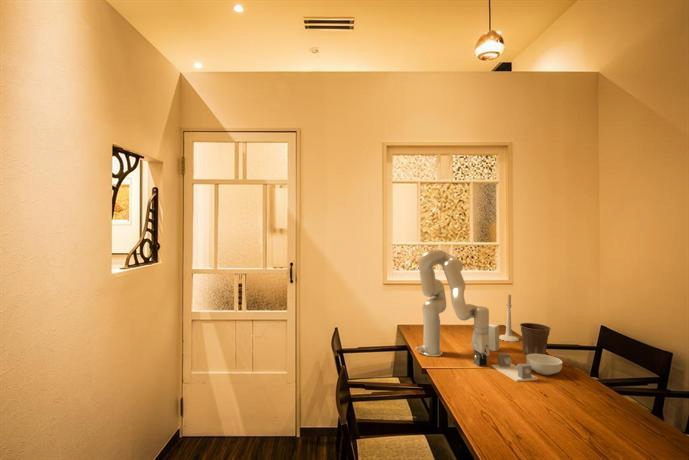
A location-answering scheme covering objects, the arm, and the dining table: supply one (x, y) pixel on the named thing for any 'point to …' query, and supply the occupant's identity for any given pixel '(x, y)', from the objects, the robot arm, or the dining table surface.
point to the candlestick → (508, 325)
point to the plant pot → (534, 338)
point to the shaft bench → (513, 369)
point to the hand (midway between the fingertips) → (480, 363)
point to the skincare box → (494, 337)
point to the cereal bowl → (544, 363)
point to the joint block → (478, 359)
